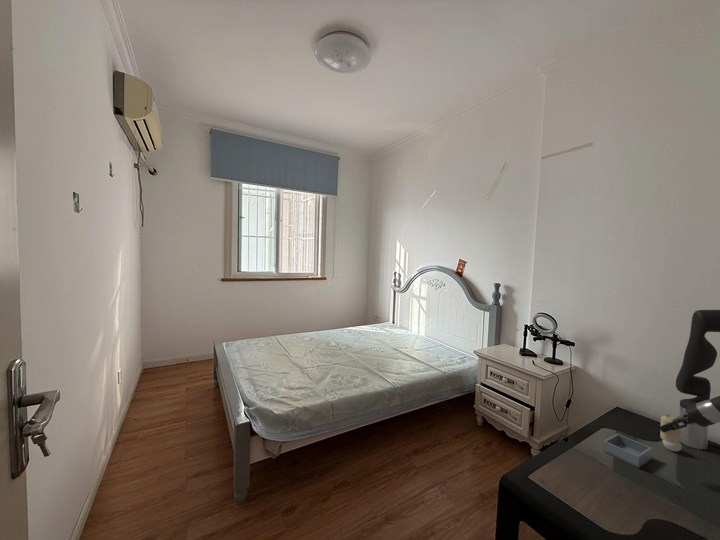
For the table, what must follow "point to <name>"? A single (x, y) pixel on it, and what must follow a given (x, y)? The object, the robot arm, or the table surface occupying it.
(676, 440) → the candle
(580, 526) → the table surface
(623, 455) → the tray
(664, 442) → the ornament
